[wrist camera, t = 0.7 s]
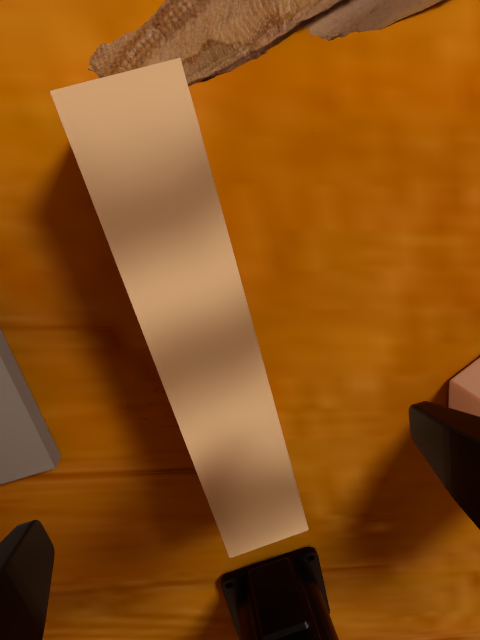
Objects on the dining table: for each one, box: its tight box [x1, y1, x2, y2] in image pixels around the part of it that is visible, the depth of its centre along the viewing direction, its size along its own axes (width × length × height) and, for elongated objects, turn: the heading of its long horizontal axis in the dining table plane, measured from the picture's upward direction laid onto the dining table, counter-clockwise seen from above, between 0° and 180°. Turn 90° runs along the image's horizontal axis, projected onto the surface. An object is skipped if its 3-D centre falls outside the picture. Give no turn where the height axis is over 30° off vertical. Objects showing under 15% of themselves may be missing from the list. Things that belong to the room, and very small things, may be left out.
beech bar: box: [50, 58, 309, 558], centre depth 17 cm, size 20×4×5 cm, turn 15°
